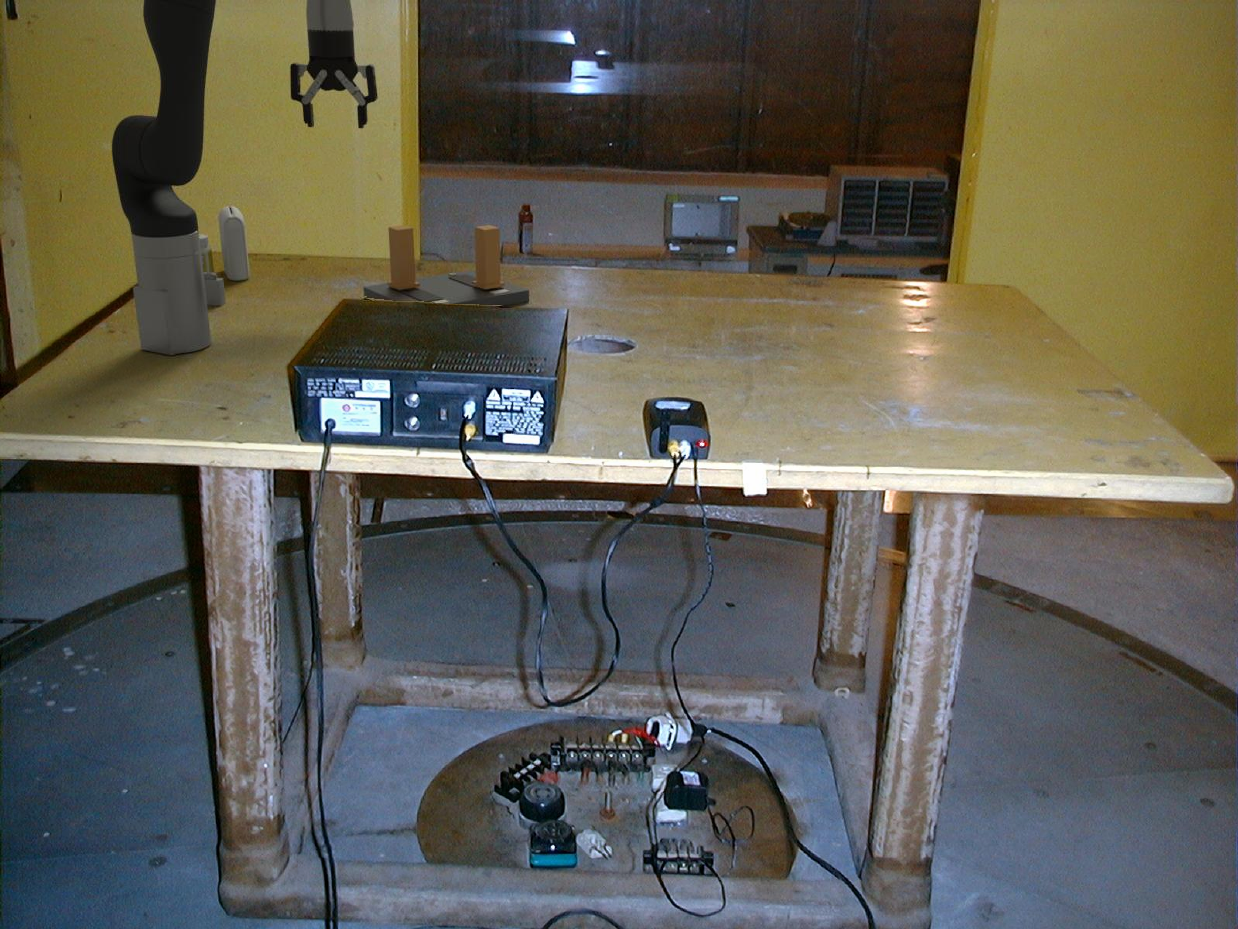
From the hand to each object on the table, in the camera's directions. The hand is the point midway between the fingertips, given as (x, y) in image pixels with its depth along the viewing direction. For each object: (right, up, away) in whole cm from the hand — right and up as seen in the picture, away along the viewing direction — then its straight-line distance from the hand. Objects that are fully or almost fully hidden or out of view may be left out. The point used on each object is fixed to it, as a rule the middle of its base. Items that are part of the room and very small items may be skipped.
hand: (336, 127), depth 209 cm
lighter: (-21, -31, -4) cm, 38 cm away
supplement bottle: (-26, -26, +8) cm, 38 cm away
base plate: (+19, -30, +1) cm, 35 cm away
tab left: (+12, -27, -1) cm, 30 cm away
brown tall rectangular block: (+26, -27, 0) cm, 38 cm away
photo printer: (-22, -23, +14) cm, 35 cm away
